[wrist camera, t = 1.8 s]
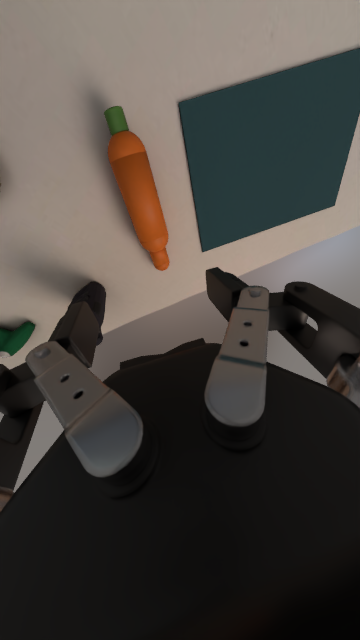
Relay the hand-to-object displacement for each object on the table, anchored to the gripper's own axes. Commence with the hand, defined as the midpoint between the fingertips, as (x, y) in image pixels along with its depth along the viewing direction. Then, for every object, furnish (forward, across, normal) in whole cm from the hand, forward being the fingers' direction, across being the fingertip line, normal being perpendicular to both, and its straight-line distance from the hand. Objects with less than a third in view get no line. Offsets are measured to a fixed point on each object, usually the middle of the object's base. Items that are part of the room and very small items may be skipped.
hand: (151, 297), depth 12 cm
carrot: (+17, -2, -5) cm, 18 cm away
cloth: (+17, -21, -6) cm, 28 cm away
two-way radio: (+18, +9, +6) cm, 21 cm away
